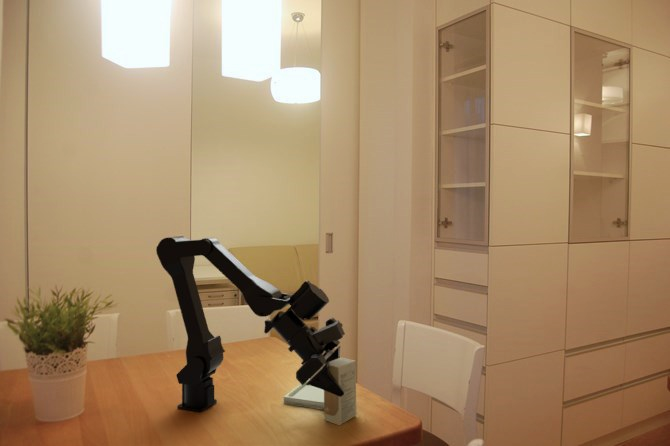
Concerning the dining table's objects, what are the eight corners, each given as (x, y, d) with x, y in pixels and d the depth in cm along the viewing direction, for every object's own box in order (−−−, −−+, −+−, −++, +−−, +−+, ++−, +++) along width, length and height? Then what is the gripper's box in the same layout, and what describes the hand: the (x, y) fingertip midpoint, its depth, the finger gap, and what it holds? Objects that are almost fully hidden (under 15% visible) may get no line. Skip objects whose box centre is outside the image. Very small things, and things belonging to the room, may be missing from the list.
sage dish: (283, 403, 108) (283, 396, 108) (304, 386, 119) (304, 380, 119) (331, 410, 104) (331, 403, 104) (349, 392, 115) (349, 386, 115)
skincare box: (341, 411, 104) (341, 356, 104) (357, 416, 101) (357, 360, 101) (322, 420, 99) (322, 363, 99) (338, 426, 96) (338, 367, 96)
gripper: (311, 317, 91) (367, 377, 89) (331, 301, 110) (377, 350, 108) (273, 355, 93) (327, 414, 91) (298, 333, 111) (344, 382, 109)
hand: (346, 387), depth 100 cm, fingers open, 8 cm apart
